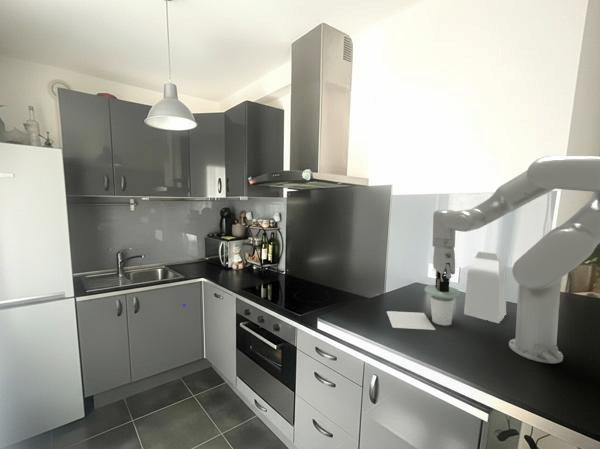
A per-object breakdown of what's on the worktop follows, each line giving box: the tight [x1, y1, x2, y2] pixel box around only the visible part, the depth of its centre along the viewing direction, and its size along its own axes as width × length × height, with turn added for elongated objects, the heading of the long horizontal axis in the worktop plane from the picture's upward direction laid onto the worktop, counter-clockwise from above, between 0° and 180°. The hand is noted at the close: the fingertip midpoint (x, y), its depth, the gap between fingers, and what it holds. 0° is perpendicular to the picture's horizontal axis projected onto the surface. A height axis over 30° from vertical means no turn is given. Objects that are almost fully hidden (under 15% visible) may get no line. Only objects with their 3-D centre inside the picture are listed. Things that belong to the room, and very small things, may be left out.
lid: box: [424, 278, 461, 299], centre depth 104 cm, size 12×12×5 cm
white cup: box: [430, 295, 455, 326], centre depth 104 cm, size 8×8×10 cm
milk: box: [463, 250, 507, 324], centre depth 110 cm, size 12×12×26 cm
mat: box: [386, 310, 436, 331], centre depth 107 cm, size 15×15×1 cm
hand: (442, 289), depth 104 cm, fingers closed on lid, 3 cm apart
